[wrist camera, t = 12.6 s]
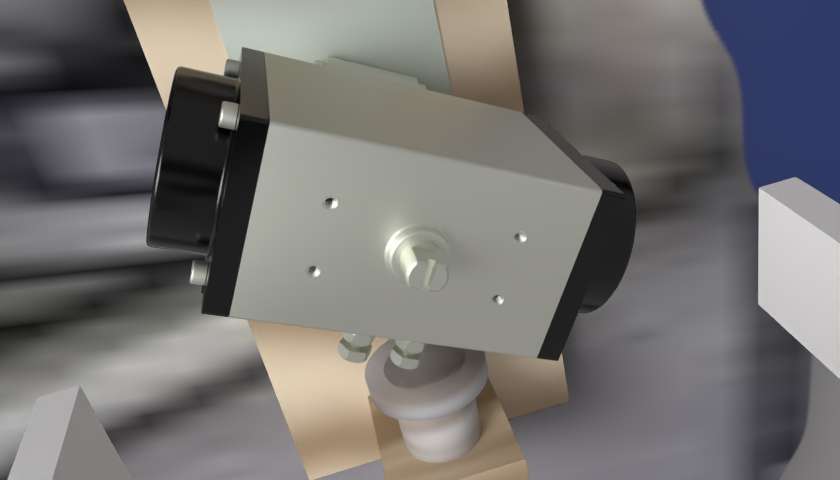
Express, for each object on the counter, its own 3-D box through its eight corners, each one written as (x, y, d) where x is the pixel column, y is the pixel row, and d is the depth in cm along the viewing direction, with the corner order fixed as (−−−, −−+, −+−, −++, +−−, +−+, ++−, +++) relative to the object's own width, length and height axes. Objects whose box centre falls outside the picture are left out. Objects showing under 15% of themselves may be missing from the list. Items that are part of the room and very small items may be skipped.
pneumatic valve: (196, 2, 25) (157, 116, 14) (532, 84, 28) (703, 226, 18) (170, 164, 27) (119, 369, 16) (485, 222, 30) (613, 423, 20)
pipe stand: (2, -342, 21) (-107, -428, 15) (424, -435, 22) (499, -555, 16) (307, 457, 36) (320, 595, 29) (557, 381, 36) (626, 498, 30)
